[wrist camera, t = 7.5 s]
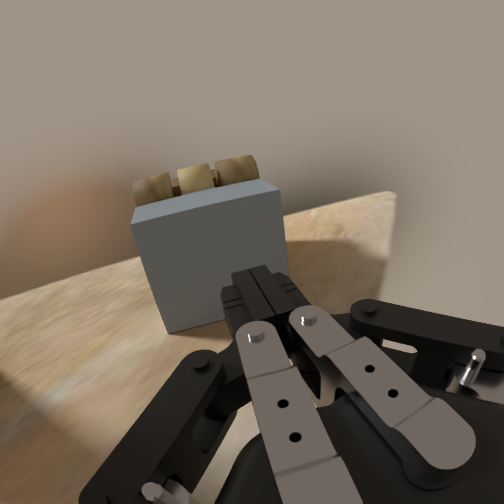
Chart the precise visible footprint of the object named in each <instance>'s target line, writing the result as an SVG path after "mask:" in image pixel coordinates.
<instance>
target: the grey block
mask: <svg viewBox="0 0 504 504" xmlns="http://www.w3.org/2000/svg"><path fill="white" fill-rule="evenodd" d="M177 174H178V179H179V184H180V189H181V193H182V196H178V197H174V198H170V199H166V200H162V201H158V202H154V203H151V204H147V205H143V206H139V207H136V209H135V212H134V215H133V218H132V221H131V224H130V225H131V228H132V231H133V235H134V238H135V241H136V245H137V248H138V251H139V254H140V257H141V260H142V264H143V267H144V270H145V273H146V276H147V278H148V281H149V284H150V287H151V290H152V293H153V296H154V298H155V301H156V304H157V306H158V309H159V312H160V314H161V317H162V320H163V322H164V325H165V327H166V330H167V332H168V334H169V333H173V332H177V331H181V330H185V329H189V328H193V327H197V326H201V325H205V324H209V323H213V322H216V321H220V320H224V319H226V318H225V314H224V310H223V305H222V301H221V297H220V294H221V290H222V287H226V286H229V285H233V283H232V278H231V273H234V272H237V271H241V270H245V269H249V268H252V267H256V266H260V265H264V264H265V265H266V266H267V268H268V269H269V271H270V272H271V273H272V274H273V273H277V272H280V273H282V274H284V275H287V276H288V277H289V271H288V260H287V250H286V240H285V231H284V221H283V213H282V205H281V195H280V189H278V188H277V187H275V186H273V185H272V184H270V183H268V182H266V181H265V180H263V179H255V180H250V181H245V182H241V183H236V184H231V185H226V186H222V187H217V188H215V187H214V182H213V177H212V173H211V170H210V167H209V165H208V163H206V164H202V165H197V166H193V167H188V168H184V169H180V170H177Z"/></svg>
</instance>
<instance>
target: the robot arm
mask: <svg viewBox="0 0 504 504" xmlns="http://www.w3.org/2000/svg"><path fill="white" fill-rule="evenodd" d="M231 278H232V283H233V285H229V286H226V287H222V290H221V294H220V297H221V301H222V305H223V310H224V314H225V318H226V322H227V325H228V328H229V330H230V333H231V336H232V339H233V341H232V343H231V344H230V345H229V346H228V347H227V348H226V349H225V350H223V351H221V352H220V353H218V354H217V353H216V352H214V351H211V350H198V351H195V352H192V353H190V354H188V355H187V356H186V357H185V358H184V359H183V360H182V361H181V362H180V364H179V365H178V366H177V368H176V369H175V370H174V372H173V373H172V374H171V376H170V377H169V378H168V380H167V381H166V382H165V384H164V385H163V386H162V387H161V389H160V390H159V391H158V393H157V394H156V395H155V397H154V398H153V399H152V401H151V402H150V403H149V404H148V406H147V407H146V408H145V410H144V411H143V412H142V414H141V415H140V416H139V418H138V419H137V420H136V421H135V423H134V424H133V425H132V427H131V428H130V429H129V431H128V432H127V433H126V434H125V436H124V437H123V438H122V440H121V441H120V442H119V444H118V445H117V446H116V447H115V449H114V450H113V451H112V453H111V454H110V455H109V456H108V458H107V459H106V460H105V462H104V463H103V464H102V465H101V467H100V468H99V469H98V471H97V472H96V473H95V474H94V476H93V477H92V478H91V480H90V481H89V482H88V483H87V485H86V486H85V487H84V488H83V490H82V491H81V493H80V496H79V504H199V503H198V501H197V499H196V498H195V497H194V496H193V495H192V492H193V491H194V489H195V487H196V486H197V484H198V482H199V481H200V479H201V477H202V476H203V474H204V472H205V471H206V469H207V467H208V465H209V464H210V462H211V460H212V458H213V457H214V455H215V453H216V451H217V450H218V448H219V446H220V444H221V443H222V441H223V439H224V437H225V435H226V433H227V432H228V430H229V428H230V426H231V424H232V422H233V421H234V419H235V417H236V415H237V410H238V409H239V408H241V407H243V406H244V405H246V404H247V403H249V402H250V401H252V405H253V408H254V412H255V416H256V419H257V423H258V426H259V430H260V433H259V434H258V435H256V436H255V437H254V438H252V439H251V440H250V441H249V442H248V443H247V444H246V445H245V446H244V448H243V449H242V450H241V452H240V453H239V455H238V456H237V458H236V460H235V462H234V464H233V466H232V469H231V471H230V473H229V475H228V477H227V479H226V481H225V483H224V485H223V487H222V489H221V491H220V493H219V495H218V497H217V499H216V501H215V503H214V504H504V327H501V326H496V325H491V324H486V323H481V322H475V321H471V320H466V319H461V318H456V317H452V316H447V315H442V314H437V313H432V312H428V311H423V310H419V309H414V308H409V307H405V306H400V305H396V304H391V303H387V302H382V301H378V300H373V299H364V300H359V301H357V302H355V303H354V304H353V305H352V306H351V309H350V313H346V314H337V315H329V314H328V313H327V312H326V311H325V310H324V309H323V308H321V307H318V306H313V305H311V304H310V303H309V302H308V300H307V299H306V298H305V297H304V295H303V294H302V293H301V292H300V290H299V289H297V287H296V285H295V284H293V282H292V280H291V279H290V278H289V277H288V276H287V275H284V274H282V273H280V272H277V273H273V274H272V273H271V272H270V271H269V269H268V268H267V266H266V265H265V264H264V265H260V266H256V267H252V268H249V269H245V270H241V271H237V272H234V273H231ZM383 339H385V340H389V341H393V342H397V343H401V344H406V345H410V346H413V347H414V348H415V349H416V350H417V352H416V353H407V352H403V351H399V350H395V349H391V348H387V347H383V346H382V343H383ZM289 359H291V361H292V363H293V366H292V365H291V363H290V361H289ZM312 400H313V401H312ZM313 402H314V403H315V405H316V406H317V408H315V405H314V403H313Z"/></svg>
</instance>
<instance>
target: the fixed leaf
mask: <svg viewBox="0 0 504 504" xmlns="http://www.w3.org/2000/svg"><path fill="white" fill-rule="evenodd" d="M211 173H212V177H213V182H214V187H215V188H217V187H222V186H226V185H231V184H236V183H241V182H245V181H250V180H255V179H260V177H259V172H258V168H257V165H256V162H255V160H254V158H253V156H252V155H248V156H242V157H236V158H231V159H226V160H221V161H216V162H215V169H214V170H211ZM133 192H134V198H135V202H136V206H137V207H139V206H143V205H147V204H151V203H154V202H158V201H162V200H166V199H170V198H174V197H178V196H182V193H181V189H180V184H179V179H178V178H174V179H170V176H169V173H168V172H167V173H163V174H159V175H155V176H151V177H147V178H143V179H140V180H136V181H133Z"/></svg>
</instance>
